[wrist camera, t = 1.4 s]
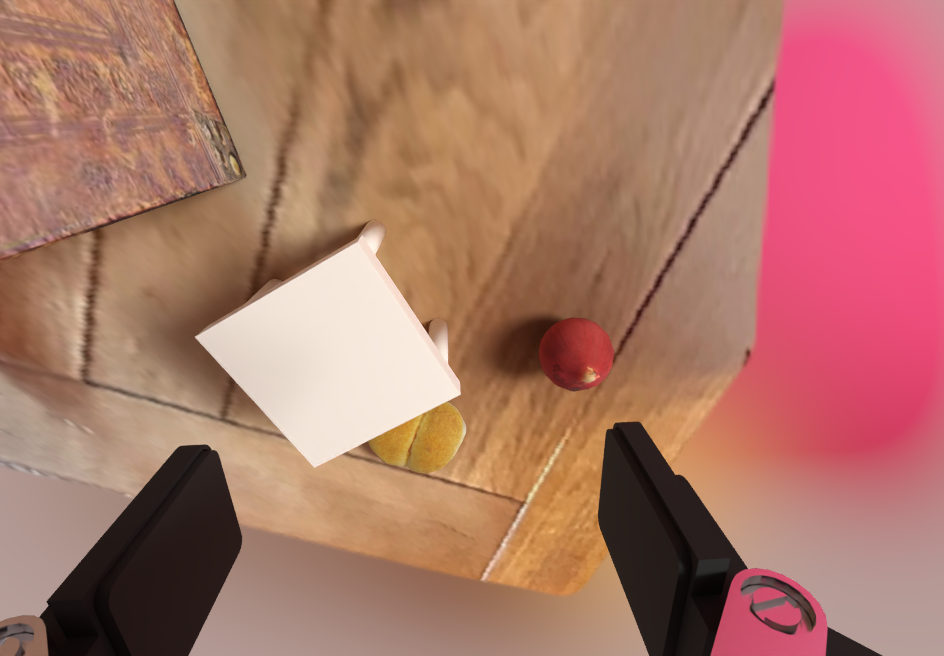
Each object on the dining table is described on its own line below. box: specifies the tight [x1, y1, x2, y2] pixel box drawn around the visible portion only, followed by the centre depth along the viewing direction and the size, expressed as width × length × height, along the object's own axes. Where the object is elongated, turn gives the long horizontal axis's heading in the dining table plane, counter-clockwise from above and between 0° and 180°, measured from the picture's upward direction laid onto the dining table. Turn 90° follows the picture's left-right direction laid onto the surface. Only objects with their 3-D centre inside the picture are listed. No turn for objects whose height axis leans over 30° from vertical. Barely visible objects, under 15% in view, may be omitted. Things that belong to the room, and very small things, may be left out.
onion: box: [539, 318, 614, 391], centre depth 38 cm, size 6×6×8 cm
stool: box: [195, 220, 461, 468], centre depth 35 cm, size 12×12×10 cm
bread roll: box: [368, 402, 466, 473], centre depth 43 cm, size 8×9×4 cm
